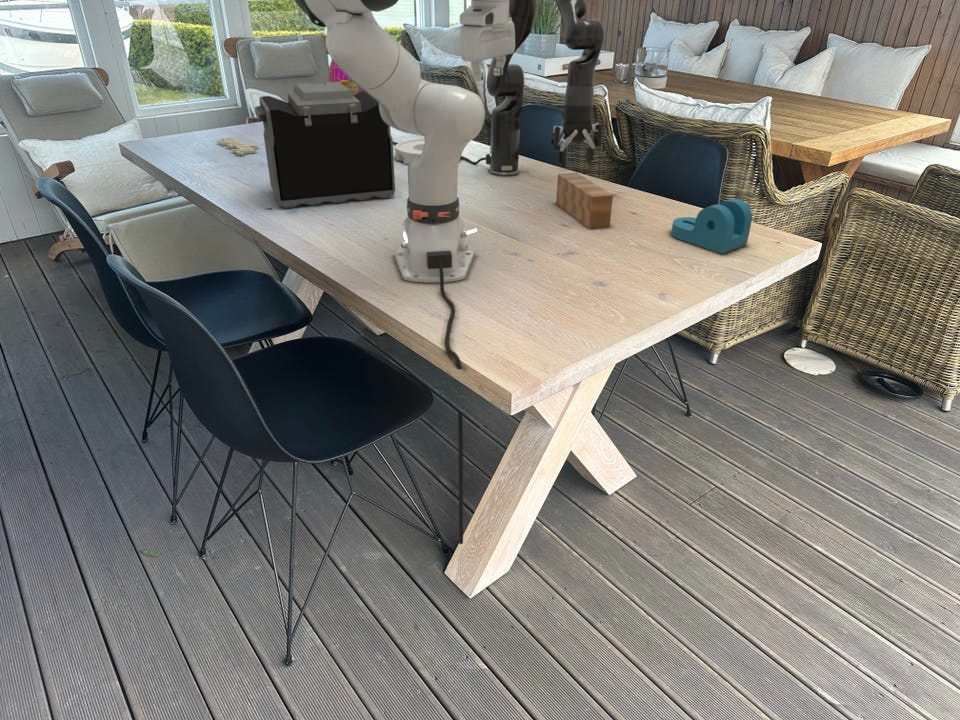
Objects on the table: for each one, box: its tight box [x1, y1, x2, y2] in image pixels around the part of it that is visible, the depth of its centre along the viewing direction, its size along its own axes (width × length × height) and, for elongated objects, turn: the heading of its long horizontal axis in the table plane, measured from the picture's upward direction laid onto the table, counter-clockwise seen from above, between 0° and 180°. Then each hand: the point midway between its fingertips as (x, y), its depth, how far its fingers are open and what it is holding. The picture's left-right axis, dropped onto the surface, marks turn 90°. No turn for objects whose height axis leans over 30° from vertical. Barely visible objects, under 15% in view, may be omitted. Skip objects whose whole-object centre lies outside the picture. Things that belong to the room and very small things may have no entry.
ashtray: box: [394, 138, 462, 166], centre depth 243 cm, size 23×23×4 cm
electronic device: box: [254, 81, 396, 209], centre depth 199 cm, size 37×22×30 cm, turn 111°
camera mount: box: [670, 198, 753, 255], centre depth 173 cm, size 18×10×10 cm, turn 39°
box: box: [555, 172, 614, 230], centre depth 190 cm, size 22×6×9 cm, turn 18°
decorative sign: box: [217, 136, 259, 156], centre depth 254 cm, size 26×1×10 cm
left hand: (488, 78), depth 166 cm, fingers open, 8 cm apart
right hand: (574, 163), depth 192 cm, fingers open, 8 cm apart
